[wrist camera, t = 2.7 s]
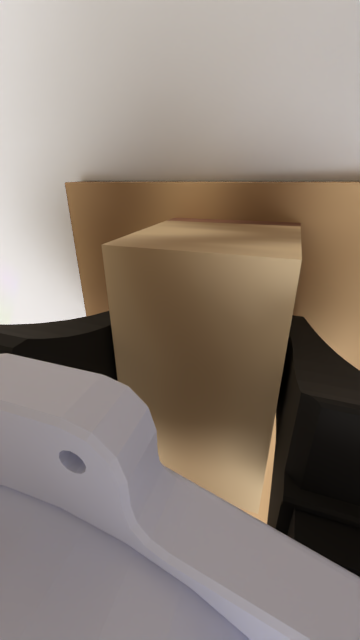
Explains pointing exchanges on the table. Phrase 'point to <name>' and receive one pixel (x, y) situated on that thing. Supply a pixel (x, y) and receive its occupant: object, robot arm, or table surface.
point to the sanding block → (206, 341)
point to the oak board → (250, 205)
